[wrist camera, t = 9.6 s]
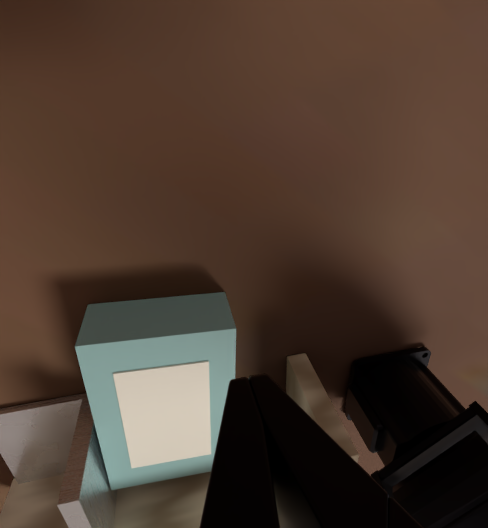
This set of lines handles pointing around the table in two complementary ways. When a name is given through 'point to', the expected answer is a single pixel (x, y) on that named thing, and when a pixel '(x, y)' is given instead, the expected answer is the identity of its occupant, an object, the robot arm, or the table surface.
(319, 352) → the table surface
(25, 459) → the bookend
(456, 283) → the table surface
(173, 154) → the table surface
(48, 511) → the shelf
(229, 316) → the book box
